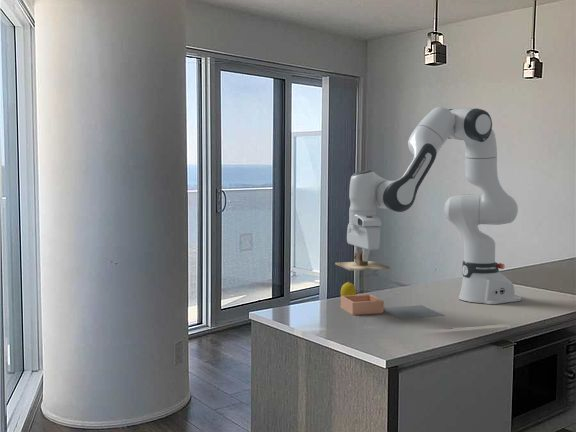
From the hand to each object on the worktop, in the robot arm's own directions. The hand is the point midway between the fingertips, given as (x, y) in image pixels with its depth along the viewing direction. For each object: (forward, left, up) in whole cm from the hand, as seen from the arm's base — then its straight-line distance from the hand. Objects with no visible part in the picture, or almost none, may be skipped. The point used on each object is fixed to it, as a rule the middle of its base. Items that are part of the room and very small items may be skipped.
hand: (362, 260), depth 210 cm
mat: (-15, +7, -18) cm, 24 cm away
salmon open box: (0, 0, -18) cm, 18 cm away
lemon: (-1, -15, -18) cm, 24 cm away
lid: (0, 0, -2) cm, 2 cm away
